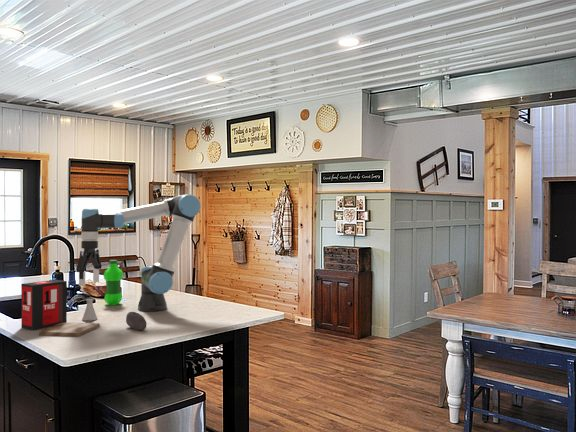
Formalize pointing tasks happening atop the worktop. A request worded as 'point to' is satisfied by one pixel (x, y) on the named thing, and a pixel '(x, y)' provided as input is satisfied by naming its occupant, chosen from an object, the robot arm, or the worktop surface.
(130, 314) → the perforated stone tool
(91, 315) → the flask
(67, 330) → the walnut board
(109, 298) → the plastic bottle
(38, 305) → the cleaning product box
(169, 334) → the worktop surface
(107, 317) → the worktop surface
